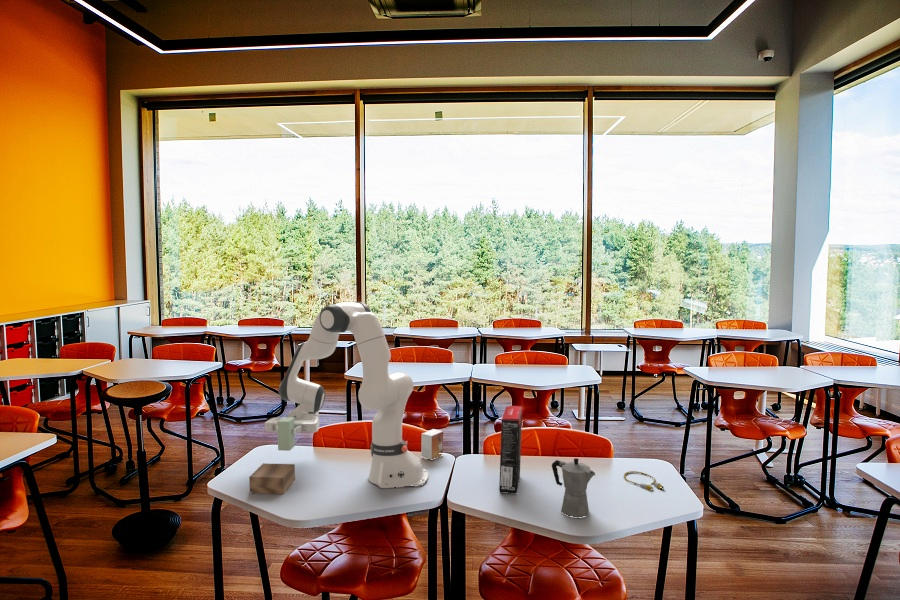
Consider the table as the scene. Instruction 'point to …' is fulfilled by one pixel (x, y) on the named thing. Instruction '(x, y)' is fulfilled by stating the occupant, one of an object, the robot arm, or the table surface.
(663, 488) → the extension cord
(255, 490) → the walnut block
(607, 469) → the table surface
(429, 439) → the small box
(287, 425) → the sage block
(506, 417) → the graphics card box
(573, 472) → the coffeepot
